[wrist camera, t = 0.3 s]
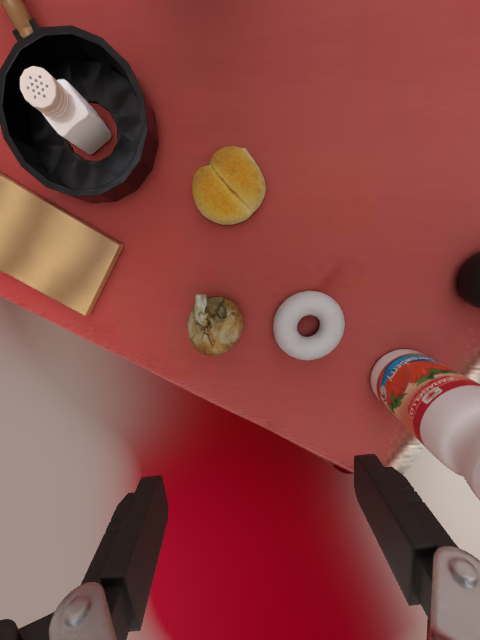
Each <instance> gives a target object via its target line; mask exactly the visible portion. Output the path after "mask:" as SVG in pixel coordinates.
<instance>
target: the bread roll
mask: <svg viewBox="0 0 480 640" xmlns="http://www.w3.org/2000/svg"><path fill="white" fill-rule="evenodd" d="M192 192H193V197H194V201H195V204H196V206H197V208H198V210H199V211H200V212H201V213H202V214H203V215H204V216H205V217H206V218H208V219H209V220H211V221H213V222H216V223H218V224H222V225H232V224H237V223H240V222H242V221H244V220H246V219H248V218H249V217H250V216H251V215H252V214H253V212H255V211H256V209H257V208H258V207H259V206H260V204H261V202H262V201H263V198H264V196H265V192H266V186H265V181H264V177H263V176H262V173H261V171H260V169H259V167H258V165H257V164H256V163H255V161H254V160H253V158H252V157H251V155H250V154H249V152H248V151H247V150H246V149H245V148H239V147H236V146H227V147H224V148H221V149H220V150H218V151H217V152H216V153H215V154H214V155H213V157H212V158H211V161H210V164H209V165H208V166H203V167H201V168H199V169H198V170H197V171H196V172H195V174H194V177H193V182H192Z"/></svg>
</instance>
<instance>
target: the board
mask: <svg viewBox="0 0 480 640" xmlns="http://www.w3.org/2000/svg"><path fill="white" fill-rule="evenodd" d="M123 247H124V245H122V244H121V243H119V242H117V241H116V240H114V239H112V238H110V237H109V236H107V235H105V234H104V233H102V232H100V231H99V230H97V229H95V228H93V227H92V226H90V225H88V224H87V223H85V222H83V221H82V220H80V219H78V218H76V217H75V216H73V215H71V214H70V213H68V212H66V211H65V210H63V209H61V208H60V207H58V206H56V205H54V204H53V203H51V202H49V201H48V200H46V199H44V198H43V197H41V196H39V195H37V194H36V193H34V192H32V191H31V190H29V189H27V188H26V187H24V186H22V185H20V184H19V183H17V182H15V181H14V180H12V179H10V178H9V177H7V176H5V175H4V174H2V173H0V270H1V271H2V272H4V273H6V274H8V275H10V276H12V277H14V278H15V279H17V280H19V281H21V282H23V283H25V284H27V285H28V286H30V287H32V288H34V289H36V290H38V291H40V292H41V293H43V294H45V295H47V296H49V297H51V298H53V299H55V300H56V301H58V302H60V303H62V304H64V305H66V306H68V307H69V308H71V309H73V310H75V311H77V312H79V313H81V314H82V315H84V316H86V315H88V314H91V312H92V310H93V308H94V306H95V304H96V302H97V300H98V298H99V295H100V293H101V291H102V289H103V287H104V285H105V283H106V281H107V279H108V277H109V275H110V273H111V271H112V269H113V267H114V265H115V263H116V261H117V259H118V257H119V255H120V253H121V251H122V249H123Z"/></svg>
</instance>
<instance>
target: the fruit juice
mask: <svg viewBox="0 0 480 640" xmlns="http://www.w3.org/2000/svg"><path fill="white" fill-rule="evenodd" d="M370 381H371V387H372V390H373V392H374V394H375V395H376V396H377V398H378V399H379V400H380V401H381V402H382V403H383V404H384V405H385V406H386V407H387V408H388V409H389V410H390V411H391V412H392V413H393V414H394V415H395V416H396V417H397V418H398V419H399V420H400V422H401V423H402V424H403V425H404V426H405V427H406V428H407V429H408V430H409V431H410V432H411V433H412V434H413V435H414V436H415V437H416V438H417V439H418V440H419V441H420V442H421V443H422V444H423V445H424V446H425V447H426V448H427V449H428V450H429V451H430V452H431V453H432V454H433V455H434V456H435V457H436V458H437V459H438V460H439V461H440V462H441V463H443V464H444V465H445V466H446V467H447V468H449V469H450V470H452V471H453V472H455V473H457V474H459V475H461V476H463V477H464V478H465V480H466V481H467V483H468V484H469V486H470V488H471V489H472V491H473V492H474V494H475V495H476V496H477V497H478V499H479V500H480V384H478V383H476V382H474V381H473V380H471V379H469V378H467V377H465V376H463V375H462V374H460V373H458V372H456V371H454V370H452V369H450V368H449V367H447V366H445V365H443V364H441V363H439V362H437V361H436V360H434V359H432V358H430V357H428V356H426V355H424V354H423V353H420V352H418V351H415V350H411V349H398V350H394V351H391V352H389V353H387V354H385V355H384V356H383V357H381V358H380V359H379V360H378V361H377V363H376V364H375V366H374V368H373V370H372V373H371V379H370Z"/></svg>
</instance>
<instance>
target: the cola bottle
mask: <svg viewBox="0 0 480 640" xmlns="http://www.w3.org/2000/svg"><path fill="white" fill-rule="evenodd" d="M458 289H459V292H460V294H461V295H462V297H463V298H464V299H465V300H466V301H467V302H469V303H470V304H472V305H474V306H476V307H478V308H480V253H478V254H476V255H474V256H473V257H471V258H470V259H469V260H468V261H467V262H466V263H465V264H464V266H463V267H462V269H461V271H460V273H459V276H458Z"/></svg>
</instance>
